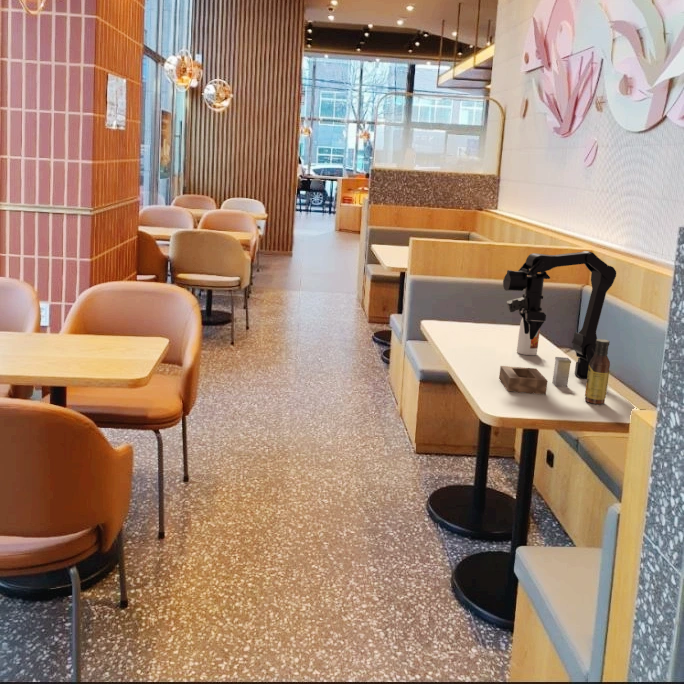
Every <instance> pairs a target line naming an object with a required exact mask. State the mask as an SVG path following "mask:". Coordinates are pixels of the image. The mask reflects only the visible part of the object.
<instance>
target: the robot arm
mask: <svg viewBox="0 0 684 684" xmlns="http://www.w3.org/2000/svg"><path fill="white" fill-rule="evenodd" d="M575 265H584V266H585V267H586V269H587V270H588V271H590V272H591V275H590V282H591V288H592V289H591V292H590V296H589V301H588V304H587V308H586V312H585V315H584V320H583V324H582V328H581V329H580V331H579V332H576V331H575V332H574V333H573V340H572V341H571V344H572V349H573V350H574V352H575V355H576V357H577V361H576V362H575V367H574V373H573V374H574V375H576V377H578V378H580V379H587V376H588V368H589V363H590V361H591V359H592V357H593V355H594V353H595V349H596V340H597V339H598V336H597V329H598V327H599V326H598V325H599V321H600V319H601V315H602V310H603V307H604V303H605V299H606V296H607V292H608V291H609V290H610V288H611V287H612V286H613V284H614V282H615V279H616V277H617V270H616V269H615V267H614V266H612V265H609V264H607V263H606V262H604V261H603V260H602V259H600V258H599V257H598V256H597V255H596V254H595V253H594V252H592V251H590V250H589V251H588V250H584V251H581V252H578V251H577V252H569V253H562V254H561V253H560V254H545V253H544V254H543V253H529V255H528V256H527V258H526V259H525V262H524V263H523V264H522V265H521V267H520V268H519V269H518V270H510V269H508V270H506V273H505V275H504V277H503V281H502V286H503V289H504V291H505V292H506V291H508V292H509V291H510V292H511V291H512V292H522V291H524V292H523V293H522V297H517V298H514V299H510V300H507V301H506V304H507V308H508V309H507V310H508V311H509V312H510V313H514V312H515V311H518V312H517V313H518V314H519V315H520V316H521V319H522V318H523V324H524V332H525V334H528V333H529V336H530V339H532V340H533V339H534V337H535V335H536V334H537V332H538V330H539V329H540V330H541V327H542V326H543V324H544V323H545V321H546V320H547V314H546V313H545V312H544V311H543V308H542V300H543V299H544V295H543V289H544V280H550V279H551V276H550V275H549V274H548V273H547V271H551V270H552V269H555V268H559V267H567V266H575Z"/></svg>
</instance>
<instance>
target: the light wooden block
mask: <svg viewBox="0 0 684 684" xmlns="http://www.w3.org/2000/svg"><path fill="white" fill-rule="evenodd" d="M571 363H572V360H571V359H570V358H569V357H559V356H555V359H554V367H553V374H552V375H553V376H552V384H553V385H554V386H555V387H559V388H560V387H561V388H562V387H563V388H568V386H569V384H568V383H569V377H570V368H571Z"/></svg>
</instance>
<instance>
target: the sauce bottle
mask: <svg viewBox="0 0 684 684" xmlns="http://www.w3.org/2000/svg"><path fill="white" fill-rule="evenodd" d="M609 347H610V340H609V339H608V340H607V339H604V338H597V340H596V349H595V353H594V355H593V357H592V359H591V361H590V363H589V368H588V376H587V378H586V383H585V384H586V385H585V390H584V391H585V392H584V393H585V394H584V397H585V398H584V399H585V402H587V403H590V404H595V405H603V404H604V403H606V402H605V401H606V397H607V390H608V383H609V378H610V366H611V361H610V359H609V356H608V354H609Z"/></svg>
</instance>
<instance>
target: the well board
mask: <svg viewBox="0 0 684 684" xmlns="http://www.w3.org/2000/svg"><path fill="white" fill-rule="evenodd" d="M499 366H500V367H499V377H498V379H500V380H501V381H500V380H499V381H500V382H501V384H502V383H503V384H504V385H503V384H502V385H503V386H504V387H506V388H505V389H506V390H508V391H516V392H515V393H521V392H526V393H525V394H534V393H535V394H537V395H546V394H547V388H548V387H547V386H548V381H549V380H548V379H547V378H546V377H545V376H544V375H543V374H542V373H541V372H540V371H539V370H538V369H537V368H535V367H534V368H533V367H521V366H510V365H509V366H508V365H499ZM508 391H507V392H508Z"/></svg>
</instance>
